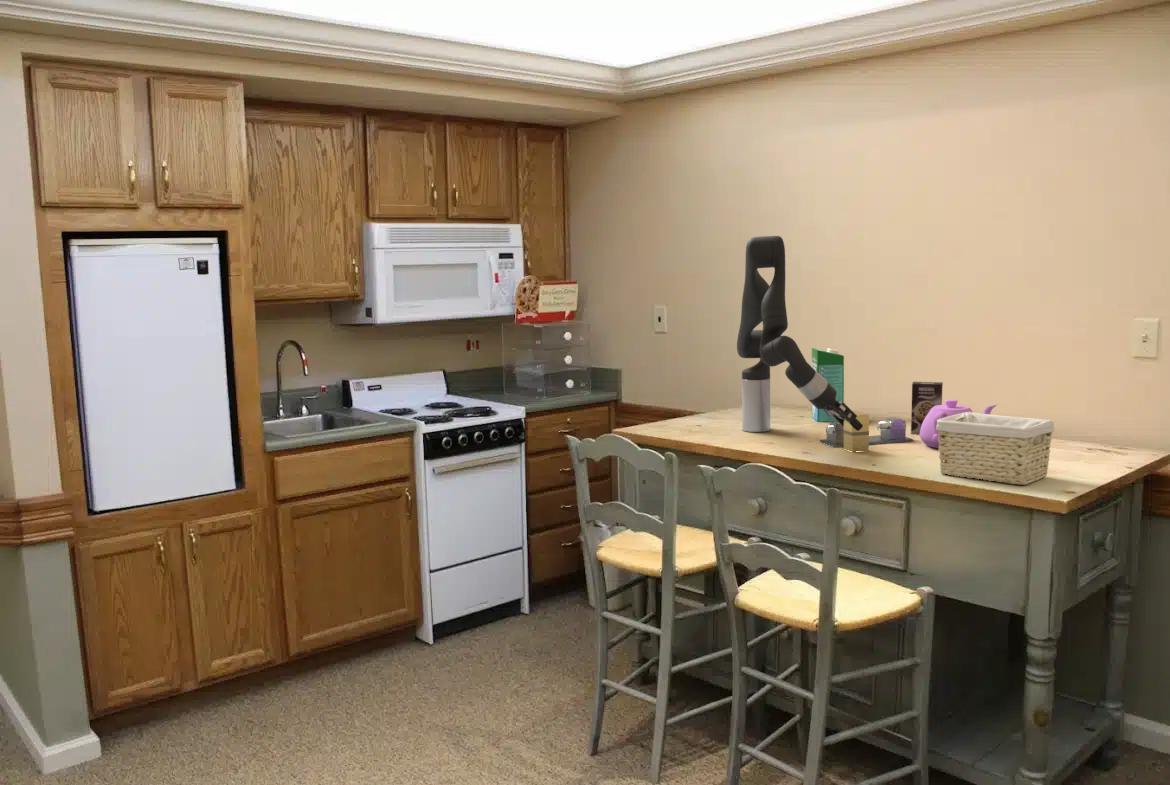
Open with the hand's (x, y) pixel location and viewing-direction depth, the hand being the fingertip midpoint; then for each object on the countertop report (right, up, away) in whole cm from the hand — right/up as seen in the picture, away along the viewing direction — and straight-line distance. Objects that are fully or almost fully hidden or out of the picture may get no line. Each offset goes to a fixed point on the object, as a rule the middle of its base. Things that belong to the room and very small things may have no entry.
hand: (853, 426), depth 277 cm
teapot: (+31, -6, +2) cm, 32 cm away
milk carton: (+7, 0, +57) cm, 57 cm away
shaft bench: (+8, -5, +14) cm, 17 cm away
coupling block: (+1, -7, +1) cm, 7 cm away
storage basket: (+25, -12, -35) cm, 45 cm away
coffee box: (+30, -3, +26) cm, 40 cm away
